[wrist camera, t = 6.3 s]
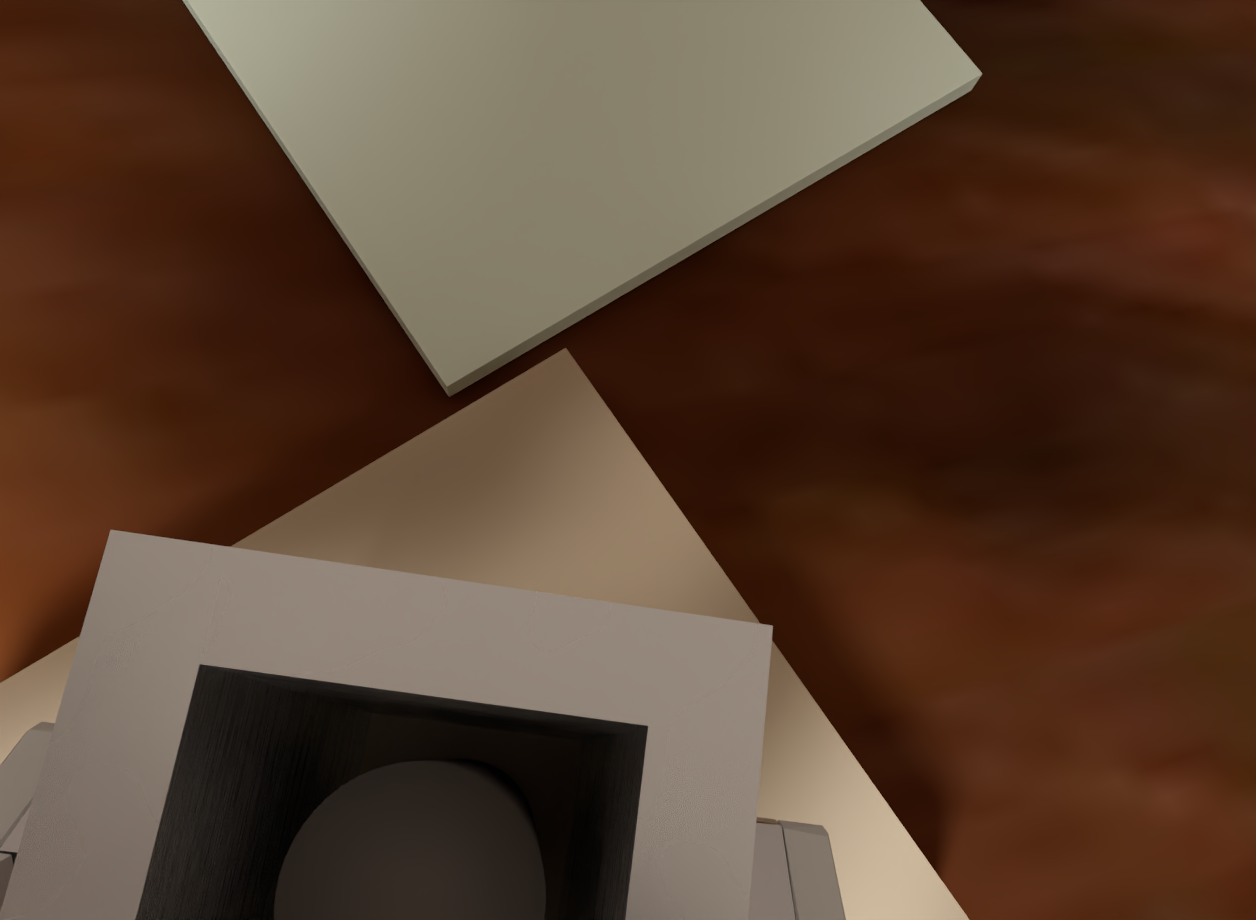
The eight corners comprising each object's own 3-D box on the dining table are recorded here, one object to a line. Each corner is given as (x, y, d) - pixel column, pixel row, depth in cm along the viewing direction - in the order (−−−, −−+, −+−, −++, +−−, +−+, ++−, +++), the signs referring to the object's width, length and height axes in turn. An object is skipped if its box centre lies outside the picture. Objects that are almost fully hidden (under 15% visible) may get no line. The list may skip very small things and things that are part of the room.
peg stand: (-22, 738, 17) (-563, 721, 9) (561, 386, 20) (591, 110, 12) (337, 1420, 15) (92, 2300, 6) (931, 916, 18) (1308, 1064, 9)
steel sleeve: (600, 1043, 15) (705, 1426, 6) (251, 1002, 15) (-126, 1346, 6) (643, 692, 17) (773, 626, 8) (327, 648, 16) (110, 529, 8)
